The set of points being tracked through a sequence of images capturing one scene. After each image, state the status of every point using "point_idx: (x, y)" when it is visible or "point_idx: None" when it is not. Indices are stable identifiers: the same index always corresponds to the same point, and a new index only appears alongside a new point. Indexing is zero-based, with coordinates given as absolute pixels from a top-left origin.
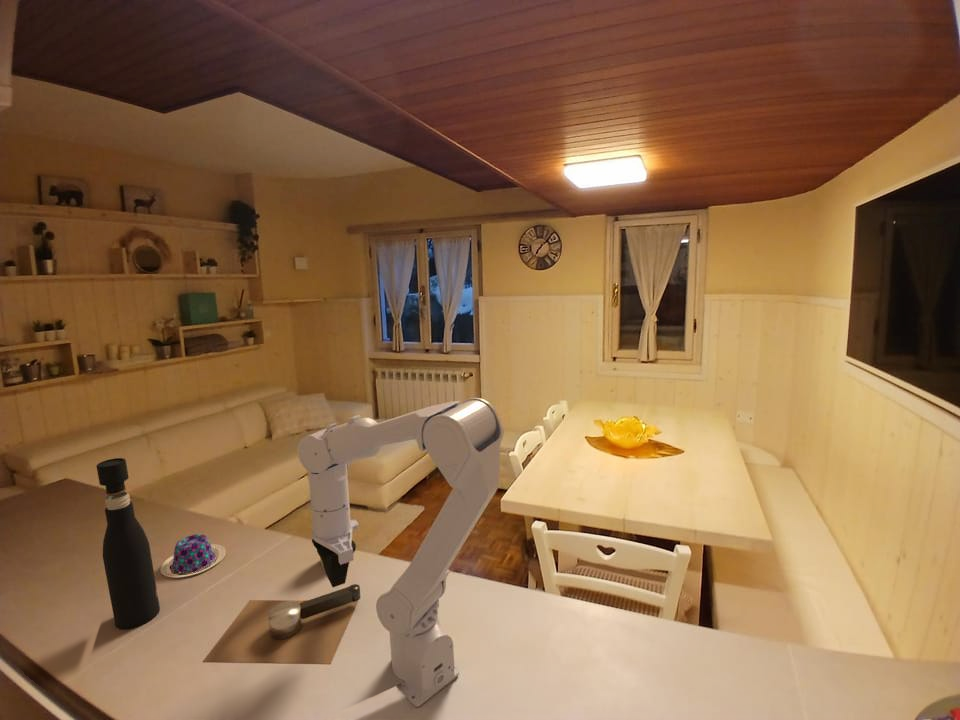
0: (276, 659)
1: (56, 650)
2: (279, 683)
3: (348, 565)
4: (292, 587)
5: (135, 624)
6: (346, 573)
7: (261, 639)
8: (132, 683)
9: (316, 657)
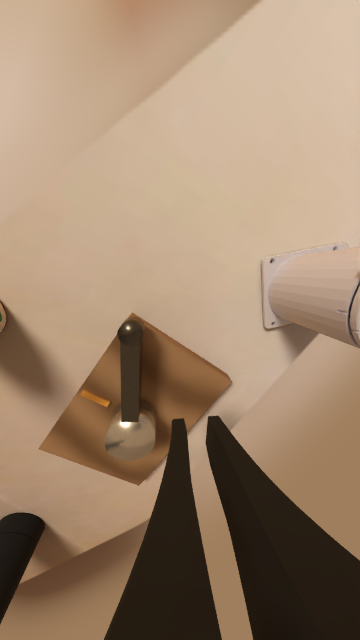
0: None
1: (35, 567)
2: (205, 418)
3: (262, 471)
4: (18, 386)
5: (34, 545)
6: (236, 440)
7: None
8: (121, 514)
9: (211, 393)
